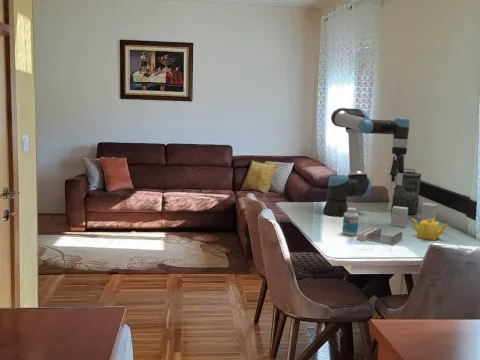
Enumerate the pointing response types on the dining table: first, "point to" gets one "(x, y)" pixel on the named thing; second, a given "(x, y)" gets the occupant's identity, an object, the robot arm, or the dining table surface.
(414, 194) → the canister
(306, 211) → the dining table surface
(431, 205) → the cup
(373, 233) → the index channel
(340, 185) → the robot arm
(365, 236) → the door edge
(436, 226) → the teapot
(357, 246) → the dining table surface
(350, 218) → the pill bottle
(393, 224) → the small box
